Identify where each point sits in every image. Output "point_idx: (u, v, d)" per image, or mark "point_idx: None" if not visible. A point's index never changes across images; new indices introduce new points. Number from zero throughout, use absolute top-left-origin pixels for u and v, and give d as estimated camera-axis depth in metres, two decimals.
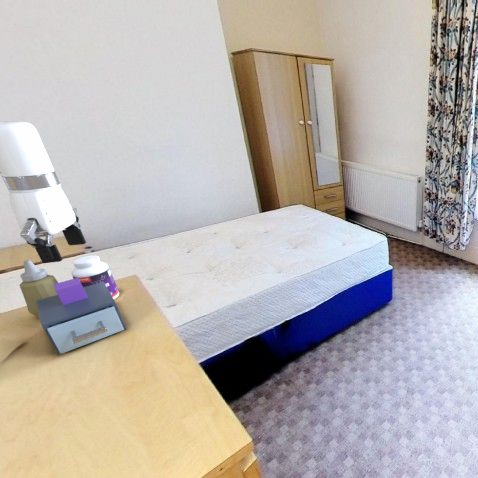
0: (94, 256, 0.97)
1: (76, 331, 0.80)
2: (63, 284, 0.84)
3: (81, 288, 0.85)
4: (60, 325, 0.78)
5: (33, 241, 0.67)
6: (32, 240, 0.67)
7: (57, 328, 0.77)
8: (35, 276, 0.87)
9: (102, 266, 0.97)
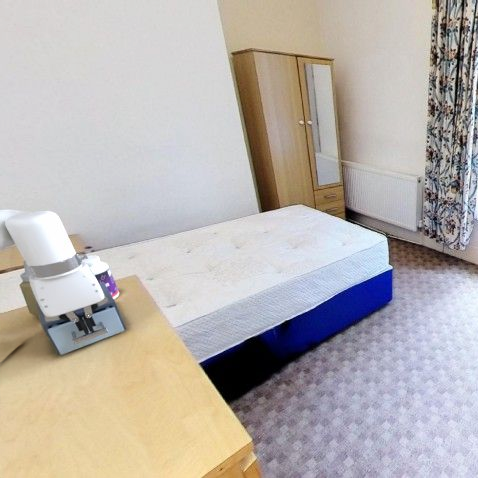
0: (94, 256, 0.97)
1: (76, 332, 0.80)
2: None
3: None
4: (60, 326, 0.77)
5: (60, 318, 0.74)
6: None
7: (57, 329, 0.77)
8: None
9: (102, 266, 0.97)
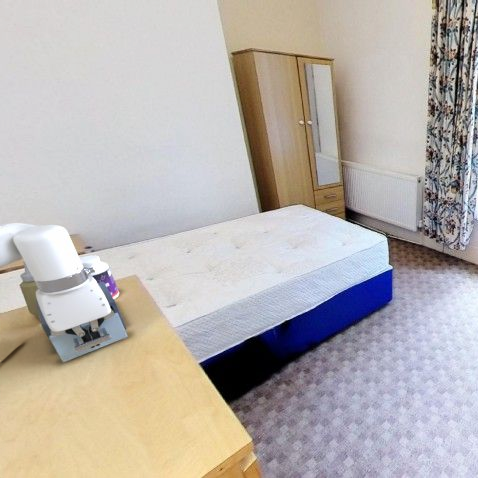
0: (94, 256, 0.97)
1: (79, 339, 0.78)
2: None
3: None
4: None
5: None
6: None
7: (59, 336, 0.75)
8: None
9: (102, 266, 0.97)
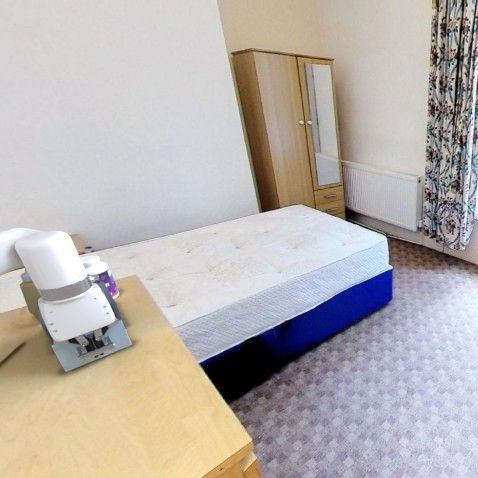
0: (94, 256, 0.97)
1: (82, 347, 0.75)
2: None
3: None
4: None
5: (69, 342, 0.71)
6: None
7: (62, 345, 0.72)
8: None
9: (102, 266, 0.97)
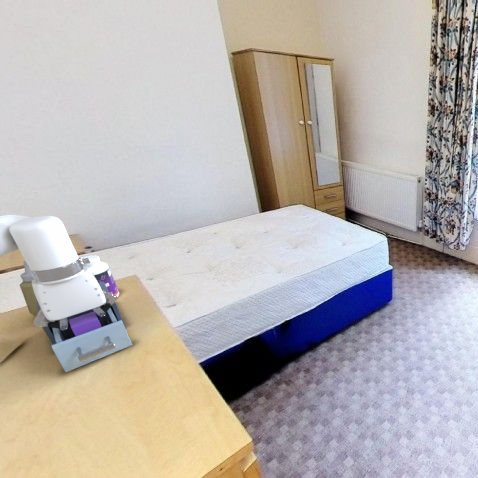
0: (94, 256, 0.97)
1: (82, 348, 0.75)
2: (79, 319, 0.78)
3: (98, 324, 0.79)
4: (65, 342, 0.73)
5: (47, 326, 0.73)
6: None
7: (62, 345, 0.72)
8: None
9: (102, 266, 0.97)
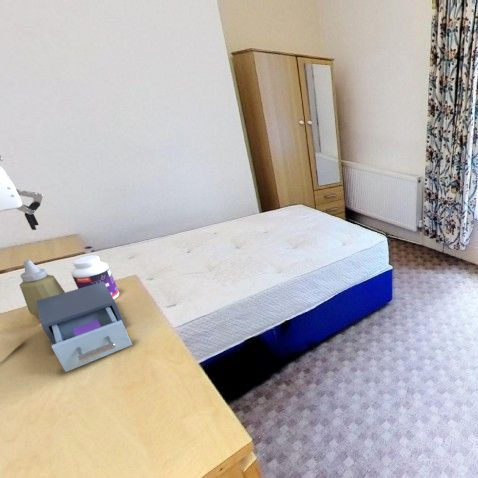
0: (94, 256, 0.97)
1: (82, 347, 0.75)
2: (83, 328, 0.79)
3: None
4: (65, 342, 0.73)
5: None
6: None
7: (62, 345, 0.72)
8: (35, 276, 0.87)
9: (102, 266, 0.97)
